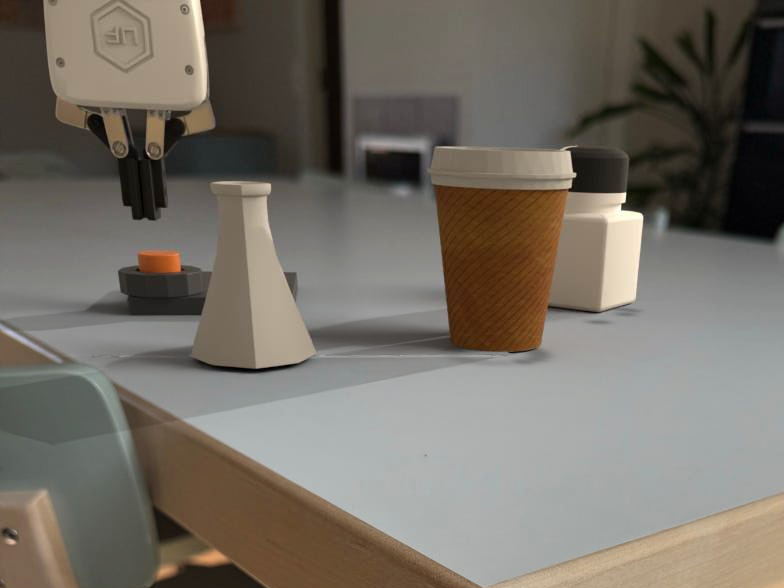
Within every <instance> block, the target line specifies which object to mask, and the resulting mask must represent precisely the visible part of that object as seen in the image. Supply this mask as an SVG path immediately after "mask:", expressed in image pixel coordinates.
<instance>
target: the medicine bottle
mask: <svg viewBox="0 0 784 588" xmlns="http://www.w3.org/2000/svg"><path fill="white" fill-rule="evenodd" d="M559 150H566V151H570V154H571V162H572V170H573V173H576V177H574V178H572V186H571V188H568V194H567V198H566V205H565V210H564V216H563V222H562V227H561V233H560V238H559V245H558V250H557V256H556V261H555V267H554V273H553V279H552V286H551V290H550V296H549V302H548V307H551V308H552V307H553V308H561V309H568V310H577V311H584V312H585V311H586V312H590V313H591V312H592V313H601V312H605V311H608V310H611V309H615V308H619V307H623V306H625V305H629V304H633V303H635V301H636V296H637V287H638V276H639V267H640V255H641V247H642V237H643V236H642V234H643V225H644V215H643V214H642V213H641V212H637V211H634V210H633V211H632V210H622V204H624V203H626V200H627V199H626V198H627V188H628V187H627V186H628V177H629V167H630V157H629V155H628V154H627V153H626V152H625V151H624V150H622V149H620V148H616V147H612V146H601V145H599V146H598V145H570V146H564V147H562V148H560V149H559Z"/></svg>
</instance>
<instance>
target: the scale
mask: <svg viewBox="0 0 784 588" xmlns="http://www.w3.org/2000/svg"><path fill="white" fill-rule="evenodd" d="M180 266H181V271H179V272H168V273H148V272H140V271H139V264H137V265H130V266H125V267H121V268H119V269H118V270H117V274H118V282H119V290H120V293H121V294H123V295H126V296H127V304H128V313H129V316H200V317H201V314H202V311H203V307H204V304H205V300H206V296H207V292H208V287H209V283H210V279H211V275H212V271H208V270H207V271H205V270H203V269H202V268H200V267H197V266H193V265H187V264H186V265H185V264H180ZM202 270H203V271H202ZM283 273H284V276H285V279H286V281H287V284H288V286H289V289H290V291H291V294H292V296H293V299H294V301H295V304H297V303H296V302H297V296H298V290H299V289H298V288H299V286H298V273H297V272H296V271H283Z"/></svg>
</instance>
